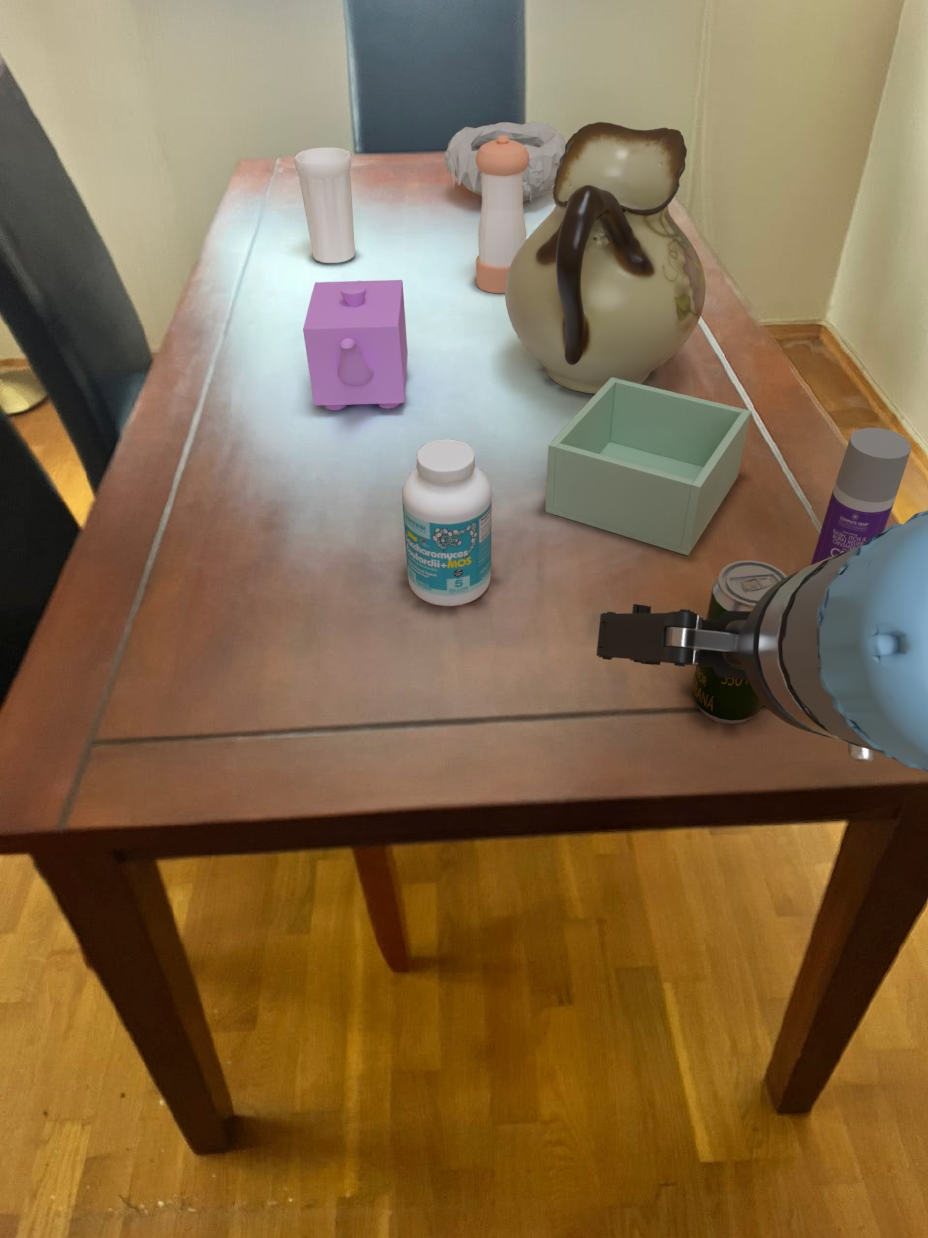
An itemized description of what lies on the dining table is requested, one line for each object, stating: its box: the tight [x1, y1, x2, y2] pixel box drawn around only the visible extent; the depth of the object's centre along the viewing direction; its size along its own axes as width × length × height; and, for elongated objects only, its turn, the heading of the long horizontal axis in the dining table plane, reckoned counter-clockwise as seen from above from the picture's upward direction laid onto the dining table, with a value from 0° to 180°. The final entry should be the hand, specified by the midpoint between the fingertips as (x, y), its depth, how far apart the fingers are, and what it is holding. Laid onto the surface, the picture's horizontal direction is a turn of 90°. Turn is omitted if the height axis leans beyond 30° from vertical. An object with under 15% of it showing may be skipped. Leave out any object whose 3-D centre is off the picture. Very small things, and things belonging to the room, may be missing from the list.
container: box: [810, 427, 912, 565], centre depth 76 cm, size 5×5×15 cm
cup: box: [293, 146, 356, 264], centre depth 135 cm, size 8×8×14 cm
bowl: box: [444, 121, 567, 203], centre depth 154 cm, size 21×20×10 cm
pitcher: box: [504, 121, 707, 395], centre depth 102 cm, size 22×24×25 cm
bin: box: [545, 377, 752, 556], centre depth 90 cm, size 15×15×8 cm
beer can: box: [691, 559, 789, 725], centre depth 68 cm, size 5×5×12 cm
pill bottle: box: [401, 438, 493, 607], centre depth 78 cm, size 8×7×14 cm
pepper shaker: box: [475, 135, 530, 294], centre depth 125 cm, size 7×7×19 cm
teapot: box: [302, 279, 409, 411], centre depth 104 cm, size 20×10×12 cm, turn 1°
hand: (756, 654), depth 59 cm, fingers open, 13 cm apart
